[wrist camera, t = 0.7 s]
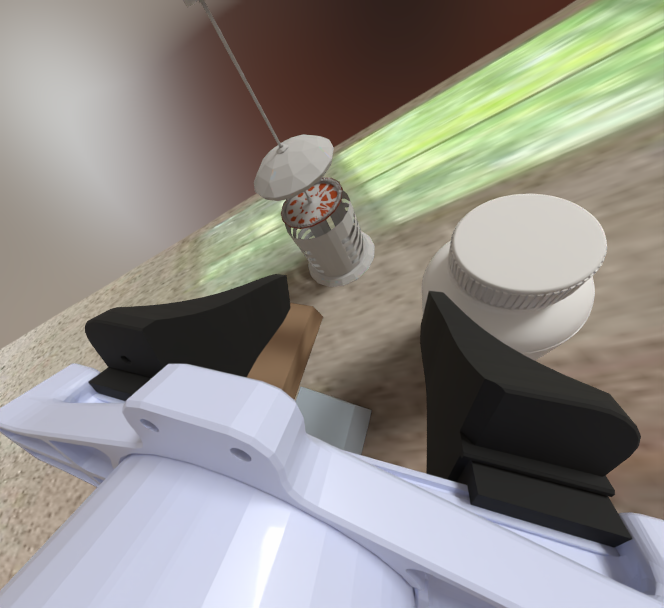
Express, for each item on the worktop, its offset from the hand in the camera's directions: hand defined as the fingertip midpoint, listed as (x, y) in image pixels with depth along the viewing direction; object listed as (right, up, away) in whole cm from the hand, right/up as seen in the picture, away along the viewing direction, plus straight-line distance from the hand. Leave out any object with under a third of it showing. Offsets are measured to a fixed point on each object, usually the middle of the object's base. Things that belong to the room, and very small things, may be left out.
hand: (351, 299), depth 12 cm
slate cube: (0, -12, +11) cm, 17 cm away
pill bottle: (+12, -4, +10) cm, 17 cm away
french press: (0, +7, +21) cm, 23 cm away
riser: (-8, -6, +18) cm, 20 cm away
